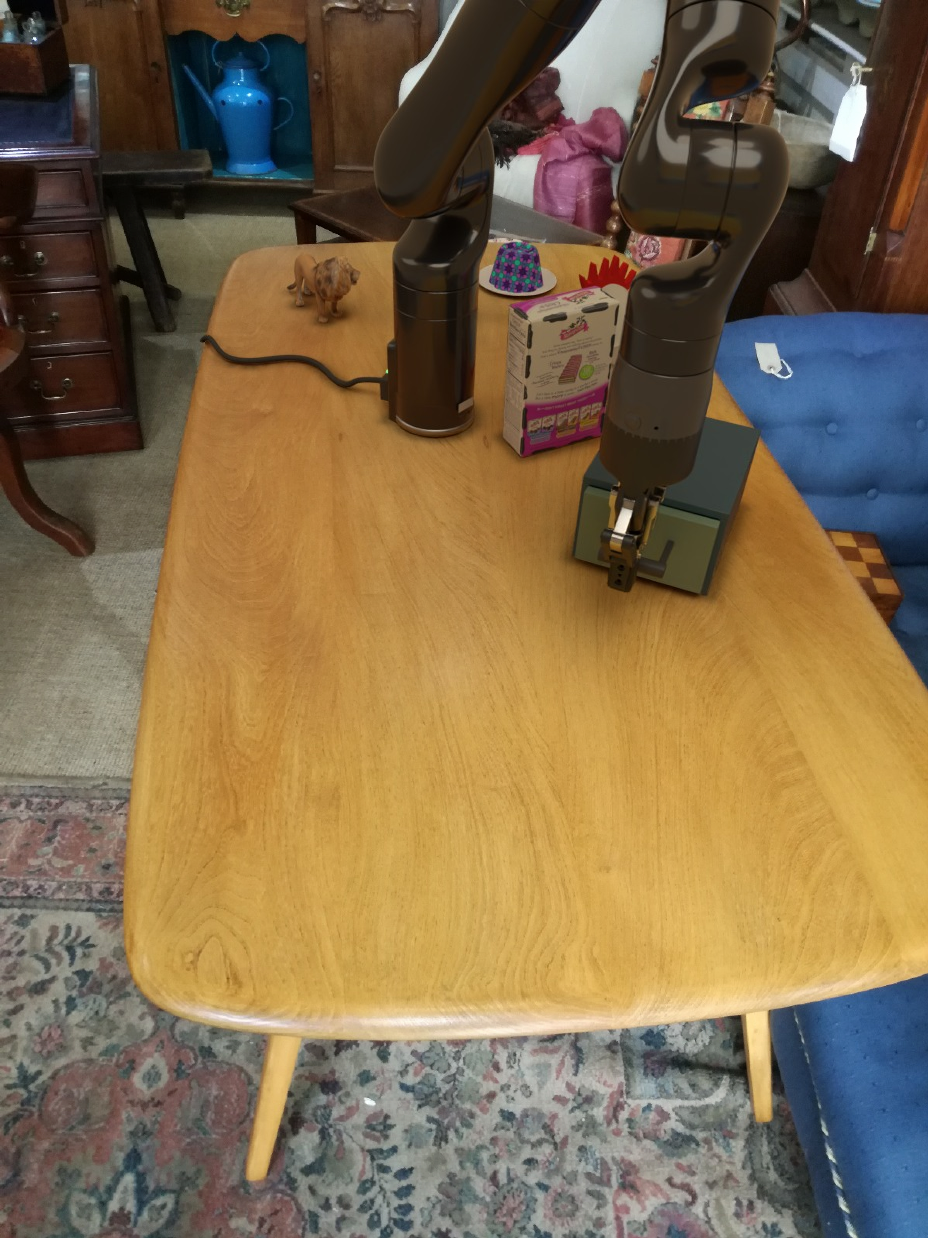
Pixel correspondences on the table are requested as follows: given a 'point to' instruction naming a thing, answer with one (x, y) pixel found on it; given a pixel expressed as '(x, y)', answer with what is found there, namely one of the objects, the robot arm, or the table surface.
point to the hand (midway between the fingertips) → (620, 585)
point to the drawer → (654, 542)
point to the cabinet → (701, 481)
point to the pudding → (517, 271)
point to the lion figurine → (323, 281)
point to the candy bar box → (558, 369)
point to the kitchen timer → (611, 290)
